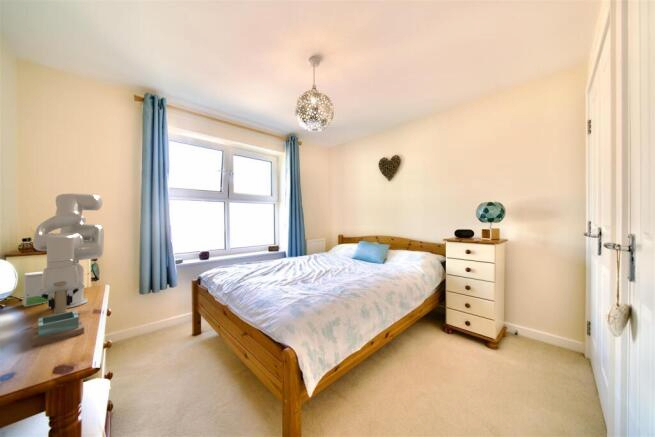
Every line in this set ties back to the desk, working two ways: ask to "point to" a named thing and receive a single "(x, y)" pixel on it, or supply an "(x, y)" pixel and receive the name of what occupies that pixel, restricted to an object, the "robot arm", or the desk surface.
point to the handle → (60, 299)
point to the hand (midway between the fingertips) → (60, 306)
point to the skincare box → (32, 289)
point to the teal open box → (57, 327)
